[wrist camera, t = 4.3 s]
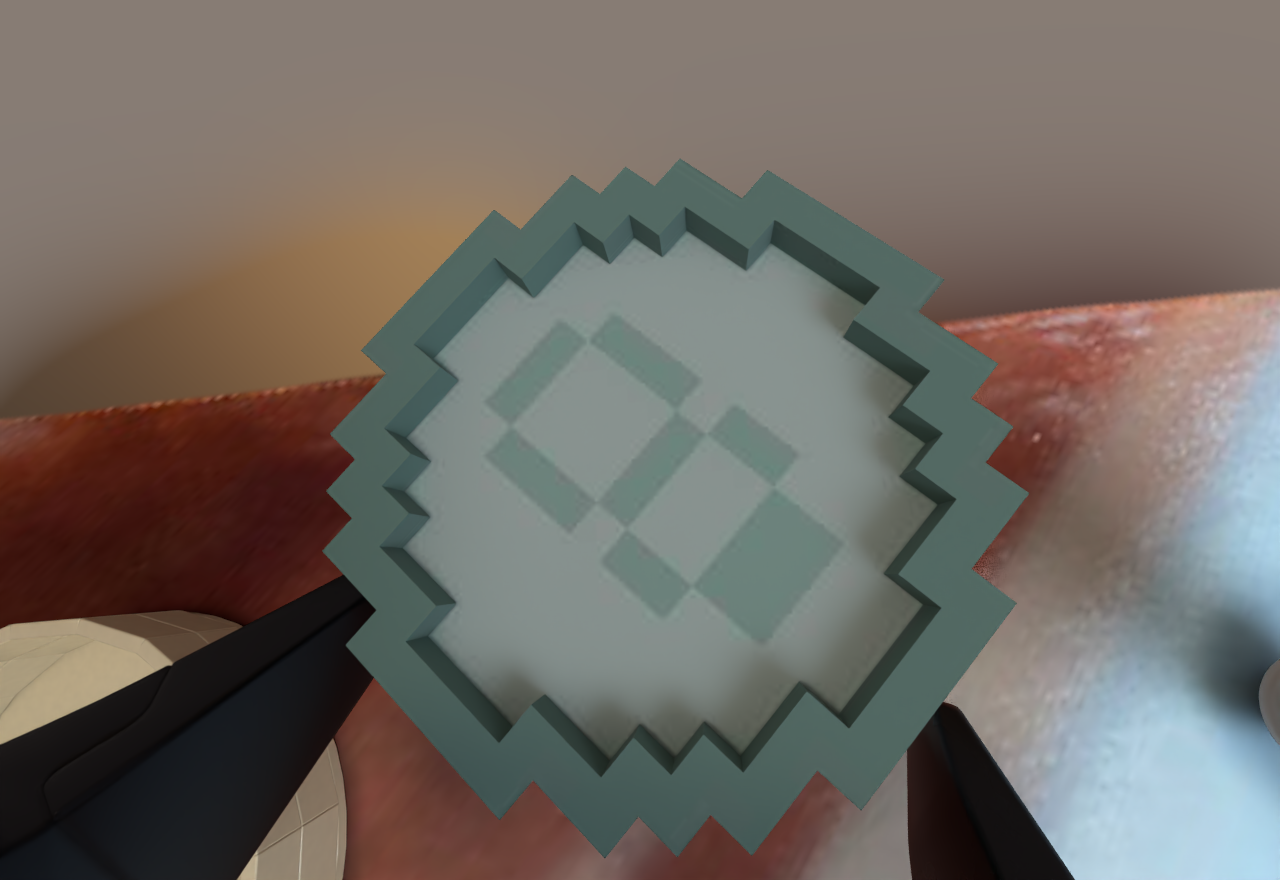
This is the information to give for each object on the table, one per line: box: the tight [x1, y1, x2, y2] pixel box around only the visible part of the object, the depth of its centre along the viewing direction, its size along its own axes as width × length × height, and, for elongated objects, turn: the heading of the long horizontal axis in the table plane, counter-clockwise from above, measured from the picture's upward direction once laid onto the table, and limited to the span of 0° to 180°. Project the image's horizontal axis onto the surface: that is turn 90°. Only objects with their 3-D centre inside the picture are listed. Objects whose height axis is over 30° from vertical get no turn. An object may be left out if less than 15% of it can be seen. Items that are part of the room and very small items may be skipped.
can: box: [323, 159, 1029, 858], centre depth 12 cm, size 6×6×15 cm
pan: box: [0, 610, 347, 880], centre depth 18 cm, size 16×16×4 cm
